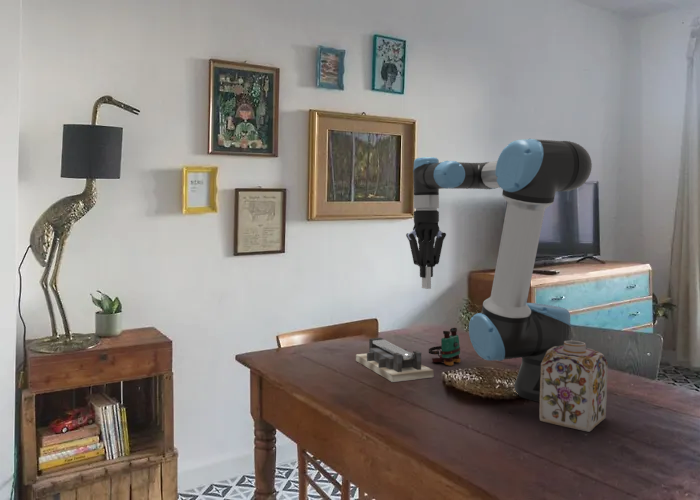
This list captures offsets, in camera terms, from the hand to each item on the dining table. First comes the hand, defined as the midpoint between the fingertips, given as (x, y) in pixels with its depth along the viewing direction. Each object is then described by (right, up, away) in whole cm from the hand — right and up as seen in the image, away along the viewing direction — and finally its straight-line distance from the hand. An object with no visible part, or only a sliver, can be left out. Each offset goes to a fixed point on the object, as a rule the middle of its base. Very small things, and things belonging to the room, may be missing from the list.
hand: (426, 288), depth 191 cm
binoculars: (+6, -23, +5) cm, 24 cm away
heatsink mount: (-10, -24, -3) cm, 26 cm away
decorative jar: (+28, -27, -47) cm, 61 cm away
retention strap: (-10, -19, -4) cm, 22 cm away
